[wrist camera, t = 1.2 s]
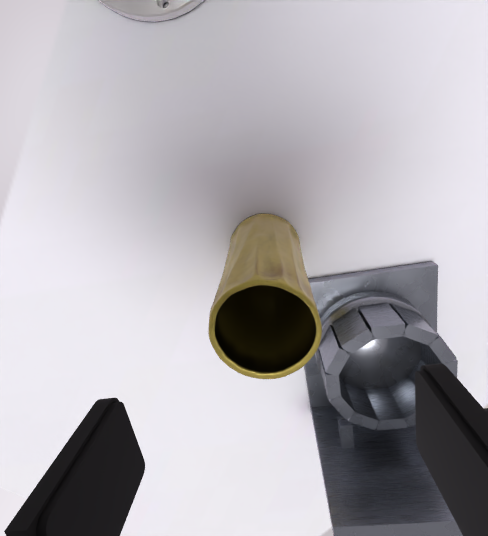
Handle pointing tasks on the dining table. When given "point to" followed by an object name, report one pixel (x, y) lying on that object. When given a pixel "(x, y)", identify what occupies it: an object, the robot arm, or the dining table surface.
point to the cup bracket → (376, 400)
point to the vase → (264, 302)
